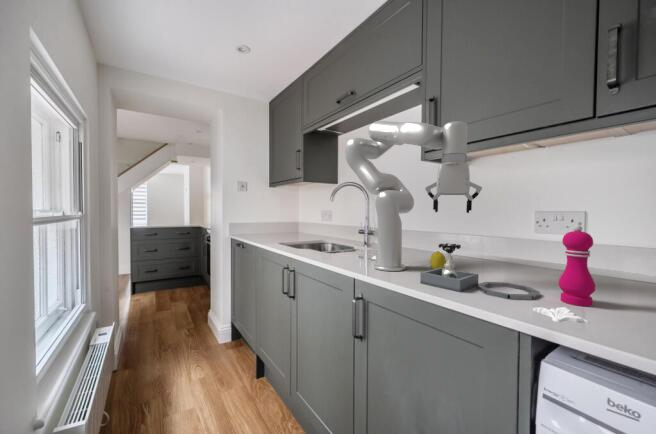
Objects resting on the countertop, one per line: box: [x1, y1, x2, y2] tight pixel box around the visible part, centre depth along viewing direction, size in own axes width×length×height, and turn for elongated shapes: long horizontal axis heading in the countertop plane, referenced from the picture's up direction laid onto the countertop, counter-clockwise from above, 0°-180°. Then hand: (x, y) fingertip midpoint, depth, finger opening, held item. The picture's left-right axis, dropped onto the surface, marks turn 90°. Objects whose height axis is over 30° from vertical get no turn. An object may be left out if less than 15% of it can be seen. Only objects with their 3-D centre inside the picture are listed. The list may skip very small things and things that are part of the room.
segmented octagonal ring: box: [476, 281, 541, 301], centre depth 85 cm, size 15×15×1 cm
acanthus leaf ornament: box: [532, 306, 590, 324], centre depth 65 cm, size 8×7×2 cm
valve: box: [438, 242, 462, 279], centre depth 92 cm, size 7×7×12 cm
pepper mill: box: [558, 224, 596, 307], centre depth 75 cm, size 7×7×20 cm
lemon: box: [429, 250, 447, 270], centre depth 111 cm, size 6×6×8 cm
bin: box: [419, 267, 479, 293], centre depth 93 cm, size 13×12×4 cm
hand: (451, 212), depth 97 cm, fingers open, 9 cm apart
